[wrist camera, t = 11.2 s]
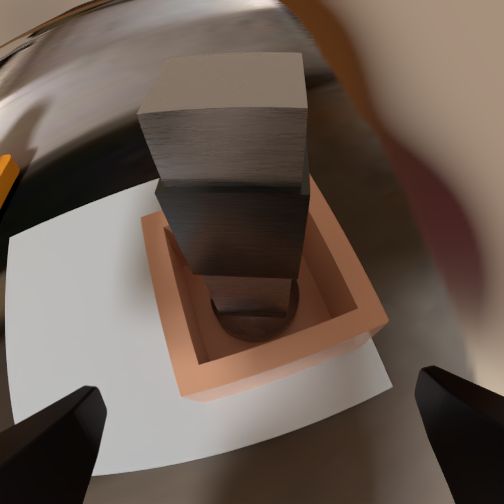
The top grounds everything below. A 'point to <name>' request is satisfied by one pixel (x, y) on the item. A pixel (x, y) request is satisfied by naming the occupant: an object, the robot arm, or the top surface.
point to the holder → (284, 345)
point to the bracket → (7, 175)
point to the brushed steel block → (235, 179)
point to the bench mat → (140, 346)
